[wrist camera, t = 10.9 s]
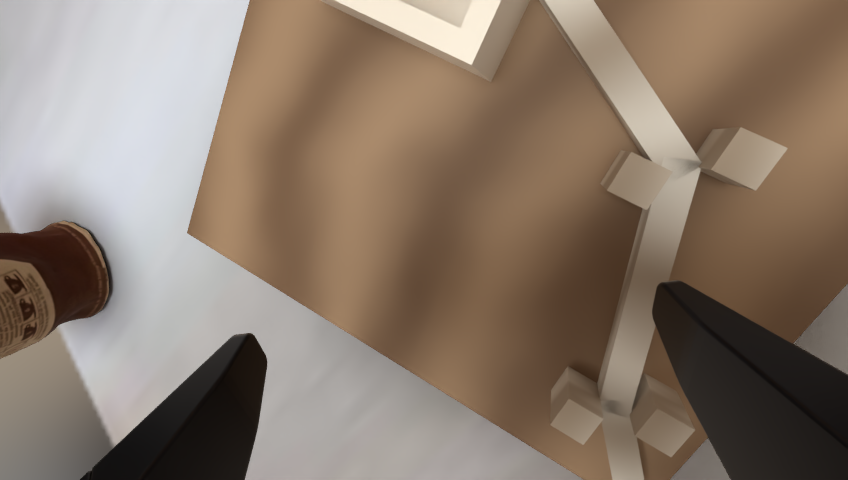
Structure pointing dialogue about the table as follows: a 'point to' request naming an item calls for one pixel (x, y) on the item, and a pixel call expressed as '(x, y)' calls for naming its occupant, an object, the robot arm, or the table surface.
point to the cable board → (542, 199)
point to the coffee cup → (47, 282)
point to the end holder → (446, 27)
